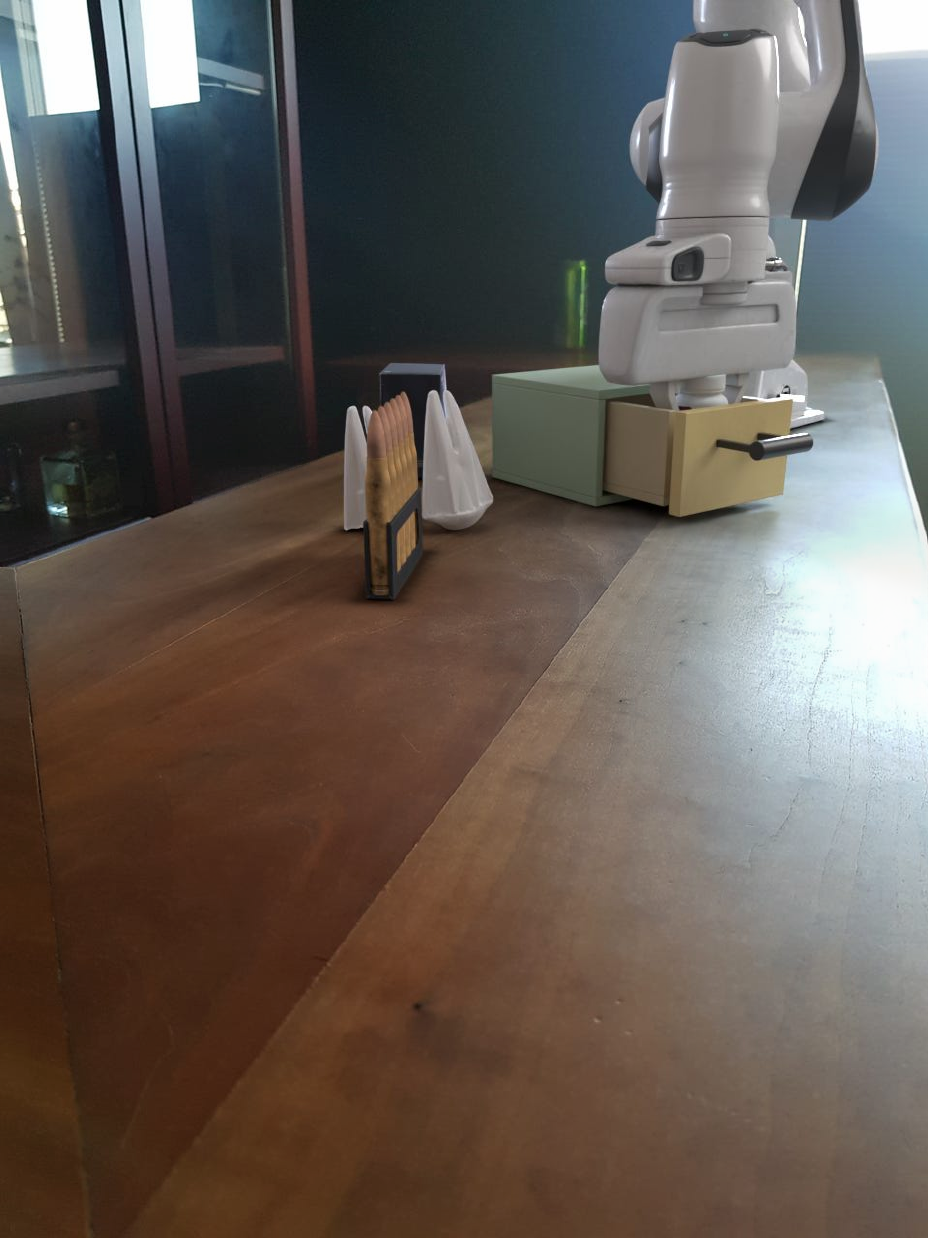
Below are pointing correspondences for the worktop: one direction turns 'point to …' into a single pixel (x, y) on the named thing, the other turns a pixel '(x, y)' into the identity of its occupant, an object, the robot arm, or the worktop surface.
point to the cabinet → (554, 430)
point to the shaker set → (425, 468)
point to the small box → (413, 394)
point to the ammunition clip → (391, 501)
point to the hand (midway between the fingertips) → (696, 430)
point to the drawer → (698, 452)
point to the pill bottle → (702, 392)
